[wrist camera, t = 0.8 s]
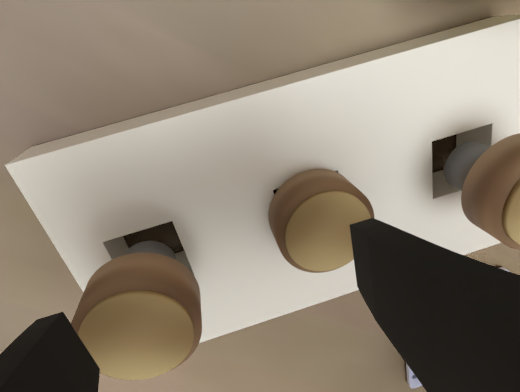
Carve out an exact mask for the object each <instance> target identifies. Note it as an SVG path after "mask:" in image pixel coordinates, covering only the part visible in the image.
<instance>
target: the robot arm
mask: <svg viewBox="0 0 520 392" xmlns="http://www.w3.org/2000/svg"><path fill="white" fill-rule="evenodd" d="M350 233H351V241H352V249H353V257H354V265H355V273H356V281H357V287H358V289H359V291H360V293H361V294H362V296H363V298H364V300H365V302H366V304H367V306H368V307H369V309H370V311H371V313H372V314H373V316H374V318H375V320H376V321H377V323H378V324H379V326H380V327H381V328H382V330H383V331H384V333H385V334H386V336H387V337H388V338H389V340H390V341H391V343H392V344H393V345H394V347H395V348H396V349H397V351H398V352H399V354H400V355H401V356H402V358H403V359H404V361H405V362H406V371H407V383H408V385H409V386H410V388H417V387H420V386H423V387H424V388H425V390H426V391H427V392H520V275H517V274H514V273H511V272H509V271H508V270H507V269H506V268H504V267H500V268H497V267H494V266H491V265H488V264H485V263H482V262H480V261H477V260H474V259H472V258H469V257H466V256H464V255H461V254H458V253H456V252H453V251H451V250H448V249H446V248H443V247H441V246H438V245H436V244H434V243H431V242H429V241H426V240H424V239H422V238H419V237H417V236H415V235H412V234H410V233H408V232H405V231H403V230H401V229H398V228H396V227H394V226H391V225H389V224H387V223H384V222H382V221H379V220H377V219H374V218H370V219H367V220H364V221H360V222H357V223H354V224H350ZM99 372H100V368H99V367H98V365H97V364H96V362H95V360H94V359H93V357H92V356H91V354H90V353H89V351H88V350H87V348H86V347H85V345H84V344H83V342H82V340H81V339H80V337H79V336H78V334H77V333H76V331H75V330H74V328H73V327H72V325H71V324H70V322H69V321H68V319H67V317H66V316H65V314H64V313H63V312H61V313H58V314H54V315H51V316H48V317H45V318H41V319H38V320H36V321H35V322H34V323H33V324H32V325H30V326H29V327H28V328H27V329H26V330H25V331H24V332H23V333H22V334H21V335H20V336H18V337H17V338H16V339H15V340H14V341H13V342H12V343H11V344H10V345H9V346H8V347H7V348H6V349H5V350H4V351H3V352H2V353H1V354H0V392H98V383H99Z"/></svg>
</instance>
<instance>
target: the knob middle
mask: <svg viewBox="0 0 520 392" xmlns="http://www.w3.org/2000/svg"><path fill="white" fill-rule="evenodd" d="M268 217H269V225H270V228H271V231H272V233H273V236H274V238H275V240H276V243H277V245H278V247H279V249H280V252H281V253H282V255H283V257H284V258H285V259H286V261H287V262H288V263H290V264H291V265H292V266H294V267H295V268H297V269H299V270H302V271H306V272H311V273H323V272H329V271H332V270H335V269H338V268H340V267H342V266H344V265H346V264H348V263H349V262H351V261H352V260H353V259H354V257H353V249H352V241H351V233H350V224H354V223H357V222H360V221H364V220H367V219H370V218H374V211H373V208H372V205H371V203H370V201H369V200H368V198H367V197H366V196H365V195H364V194H363V193H362V192H361V191H360V190H359V189H357V188H356V187H355V186H354V185H353V184H352V183H351V182H350V181H348V180H347V179H346V178H345V177H344V176H342V175H341V174H339V173H337V172H335V171H332V170H328V169H311V170H307V171H303V172H301V173H298V174H296V175H295V176H293V177H291V178H290V179H288V180H287V181H286V182H285V183H284V184H283V185H282V186H281V187H280V188H278V189H277V192H276V193H275V195H274V197H273V199H272V201H271V204H270V208H269V214H268Z"/></svg>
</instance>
